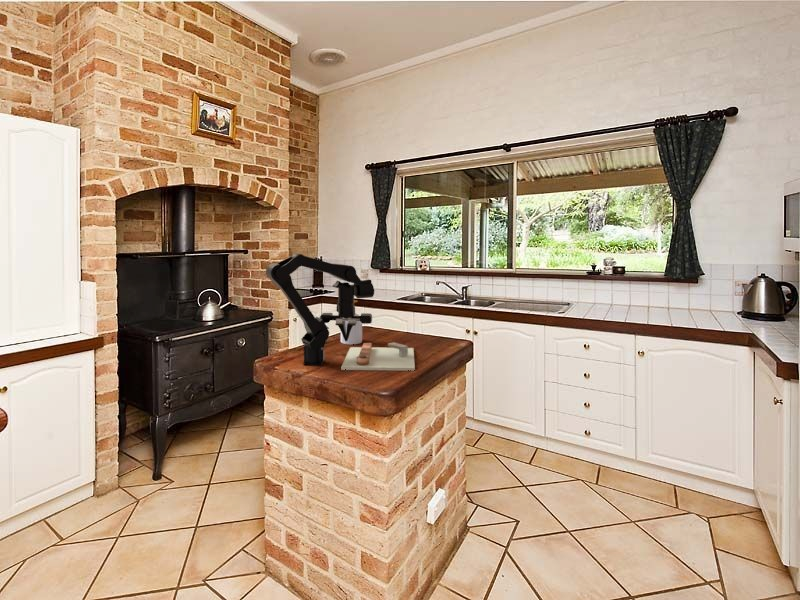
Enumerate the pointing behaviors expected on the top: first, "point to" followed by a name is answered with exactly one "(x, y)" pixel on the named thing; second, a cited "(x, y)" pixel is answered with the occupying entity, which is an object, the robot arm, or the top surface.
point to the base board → (380, 360)
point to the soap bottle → (353, 333)
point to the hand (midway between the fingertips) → (346, 340)
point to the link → (364, 354)
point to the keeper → (400, 348)
